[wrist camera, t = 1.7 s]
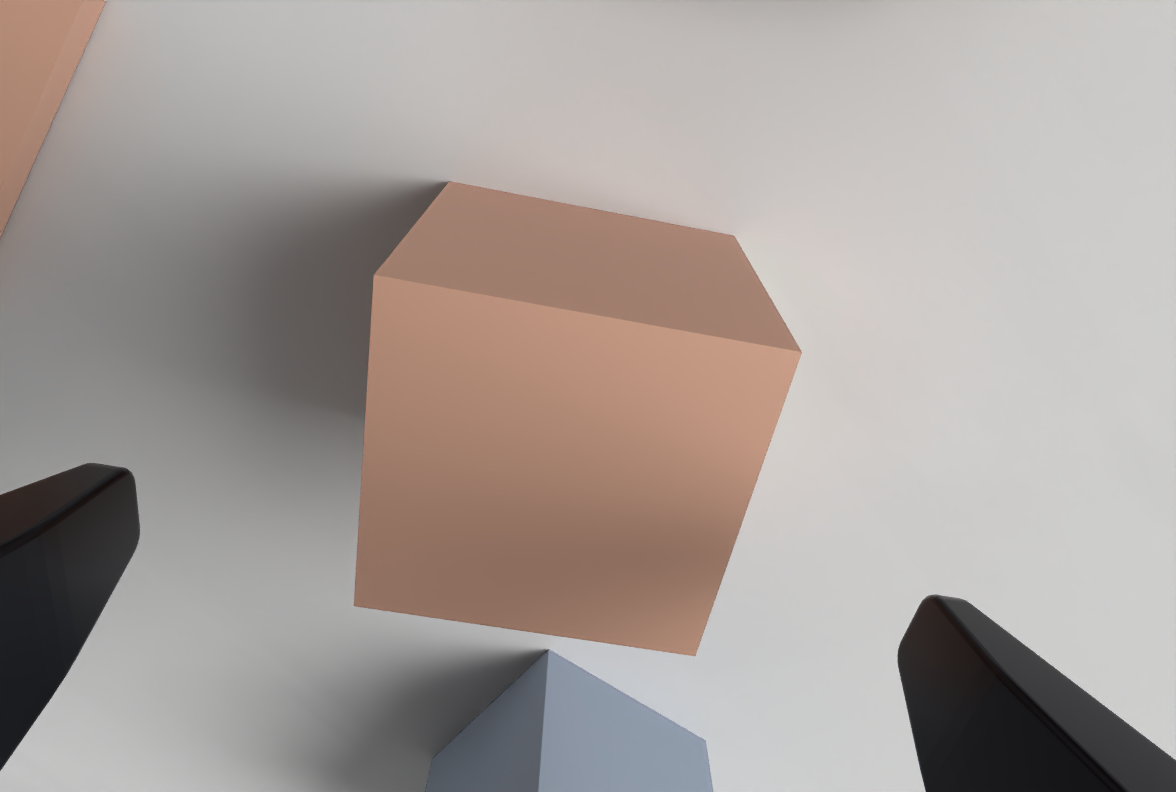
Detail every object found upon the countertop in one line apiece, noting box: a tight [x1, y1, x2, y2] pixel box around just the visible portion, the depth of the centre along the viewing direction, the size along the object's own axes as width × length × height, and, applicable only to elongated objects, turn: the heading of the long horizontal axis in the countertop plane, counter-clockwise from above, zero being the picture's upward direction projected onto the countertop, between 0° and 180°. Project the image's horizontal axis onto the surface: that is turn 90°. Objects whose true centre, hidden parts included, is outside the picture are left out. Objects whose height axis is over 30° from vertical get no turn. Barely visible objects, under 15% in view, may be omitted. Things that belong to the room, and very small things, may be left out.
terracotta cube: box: [354, 181, 802, 656], centre depth 12 cm, size 5×5×5 cm
